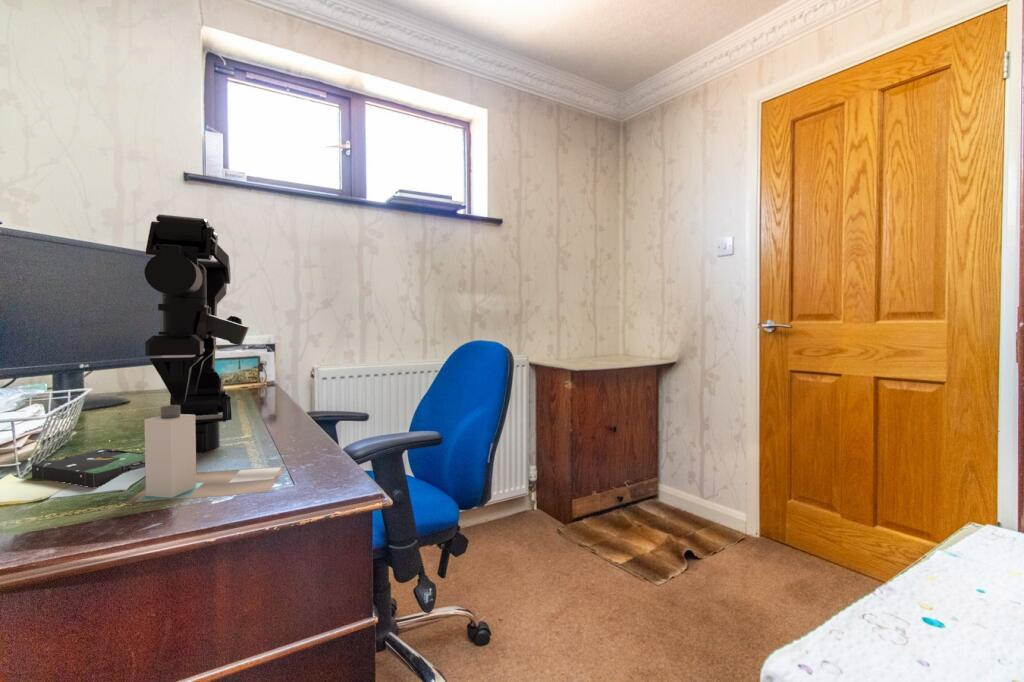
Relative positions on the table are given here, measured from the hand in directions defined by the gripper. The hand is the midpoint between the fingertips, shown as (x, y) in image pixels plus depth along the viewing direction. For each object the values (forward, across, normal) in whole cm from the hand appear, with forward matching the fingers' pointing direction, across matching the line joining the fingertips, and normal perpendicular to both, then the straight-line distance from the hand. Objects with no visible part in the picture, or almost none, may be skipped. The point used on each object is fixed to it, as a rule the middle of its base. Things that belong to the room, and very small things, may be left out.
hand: (186, 398), depth 71 cm
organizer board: (+13, -7, -4) cm, 15 cm away
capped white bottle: (+12, -8, 0) cm, 15 cm away
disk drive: (+14, +11, +14) cm, 22 cm away
